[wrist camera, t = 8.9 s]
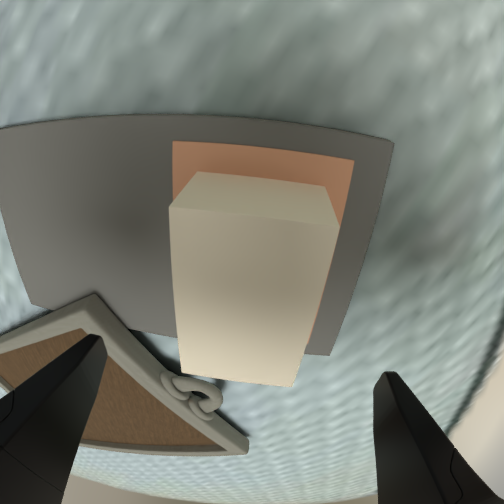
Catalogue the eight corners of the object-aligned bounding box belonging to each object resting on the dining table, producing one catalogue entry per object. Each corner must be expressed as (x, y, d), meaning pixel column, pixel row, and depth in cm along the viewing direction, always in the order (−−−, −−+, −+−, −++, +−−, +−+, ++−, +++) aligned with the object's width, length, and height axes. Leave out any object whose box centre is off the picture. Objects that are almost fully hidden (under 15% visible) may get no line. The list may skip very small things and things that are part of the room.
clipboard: (-31, 355, 23) (113, 297, 14) (-25, 346, 24) (126, 276, 15) (75, 445, 32) (276, 452, 22) (79, 436, 33) (277, 436, 24)
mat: (-6, 129, 12) (-14, 133, 11) (389, 140, 11) (395, 143, 10) (35, 298, 18) (30, 304, 17) (328, 348, 17) (329, 356, 17)
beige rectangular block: (197, 320, 16) (181, 372, 13) (197, 171, 12) (168, 206, 9) (291, 332, 16) (292, 387, 13) (325, 186, 12) (339, 227, 9)
